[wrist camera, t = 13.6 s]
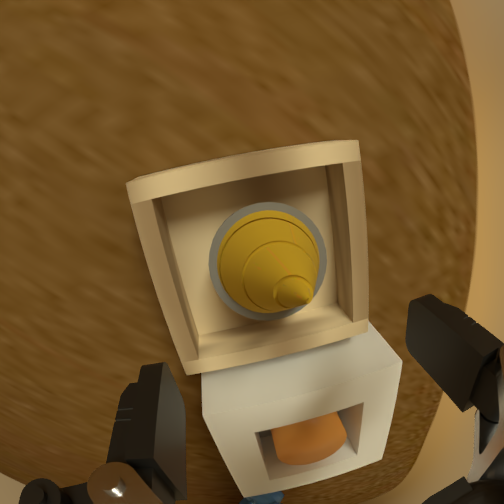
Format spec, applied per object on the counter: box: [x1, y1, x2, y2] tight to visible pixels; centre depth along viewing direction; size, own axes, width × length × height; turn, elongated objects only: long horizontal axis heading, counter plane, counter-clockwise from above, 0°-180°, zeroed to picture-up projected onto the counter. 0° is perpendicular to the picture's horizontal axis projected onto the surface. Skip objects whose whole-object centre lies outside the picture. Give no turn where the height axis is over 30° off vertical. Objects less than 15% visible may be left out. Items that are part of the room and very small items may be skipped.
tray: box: [126, 140, 369, 375], centre depth 17 cm, size 11×11×3 cm
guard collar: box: [201, 321, 402, 498], centre depth 20 cm, size 12×12×5 cm
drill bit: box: [208, 202, 327, 321], centre depth 13 cm, size 5×5×10 cm
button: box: [270, 411, 347, 465], centre depth 20 cm, size 5×5×4 cm
